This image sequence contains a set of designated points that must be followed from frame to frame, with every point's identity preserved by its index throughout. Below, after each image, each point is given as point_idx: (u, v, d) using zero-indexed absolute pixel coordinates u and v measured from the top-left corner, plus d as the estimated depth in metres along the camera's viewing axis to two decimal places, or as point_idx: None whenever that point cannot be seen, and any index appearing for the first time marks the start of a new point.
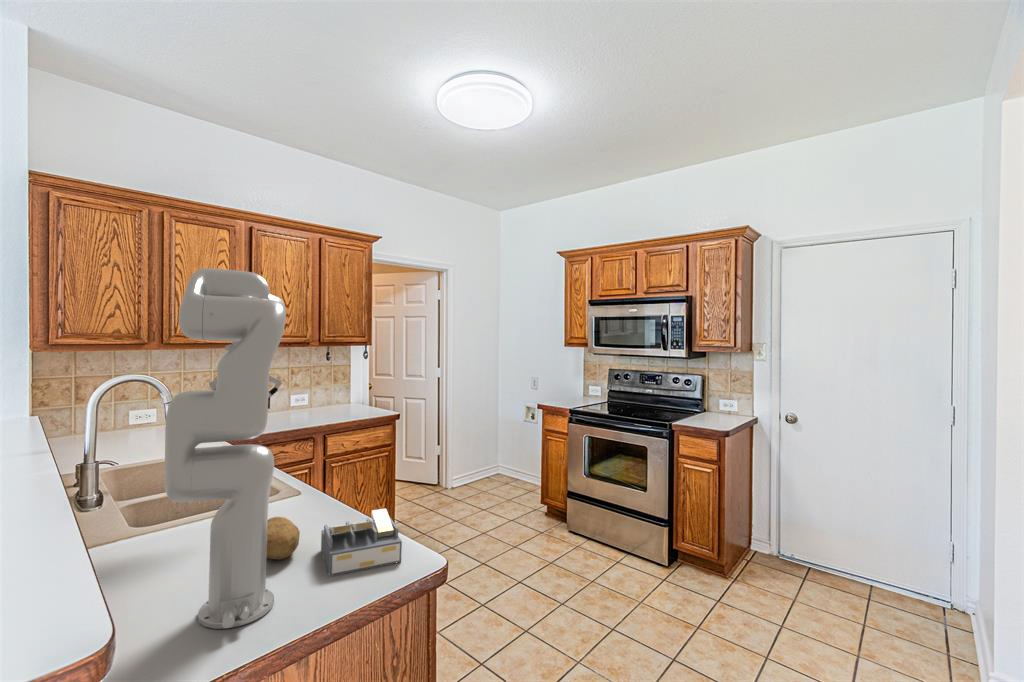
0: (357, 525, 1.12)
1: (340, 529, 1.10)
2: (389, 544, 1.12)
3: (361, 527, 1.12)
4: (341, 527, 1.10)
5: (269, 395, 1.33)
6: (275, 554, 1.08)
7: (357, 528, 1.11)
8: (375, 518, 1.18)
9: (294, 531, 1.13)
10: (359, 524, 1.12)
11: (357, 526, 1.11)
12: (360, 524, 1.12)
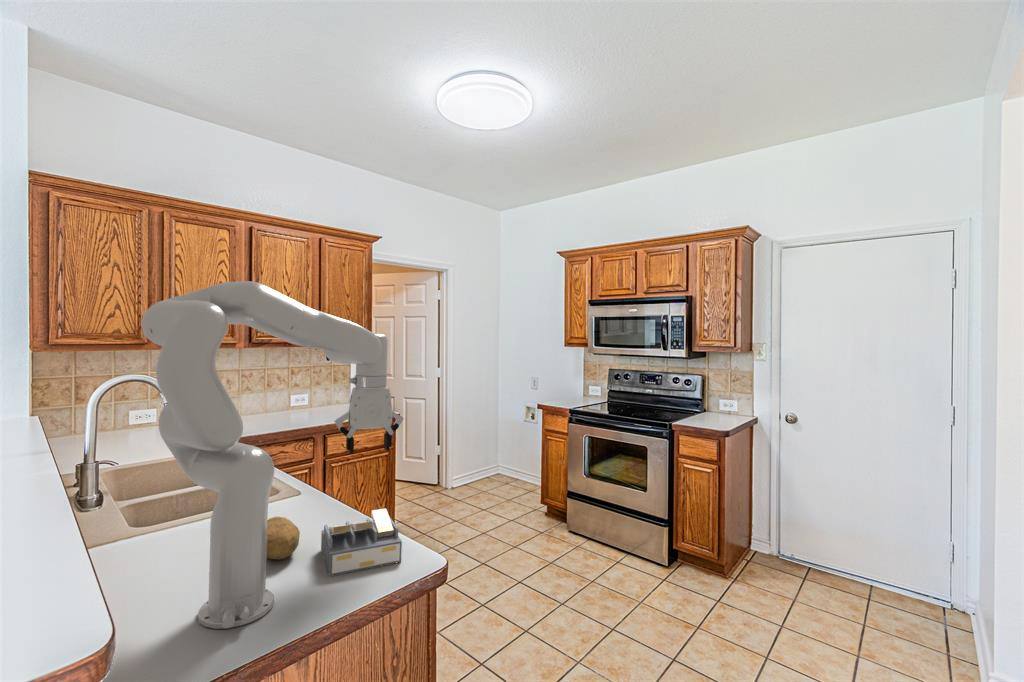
0: (357, 525, 1.12)
1: (340, 529, 1.10)
2: (389, 544, 1.12)
3: (361, 527, 1.12)
4: (341, 527, 1.10)
5: (391, 432, 1.22)
6: (275, 554, 1.08)
7: (357, 528, 1.11)
8: (375, 518, 1.18)
9: (294, 531, 1.13)
10: (359, 524, 1.12)
11: (357, 526, 1.11)
12: (360, 524, 1.12)
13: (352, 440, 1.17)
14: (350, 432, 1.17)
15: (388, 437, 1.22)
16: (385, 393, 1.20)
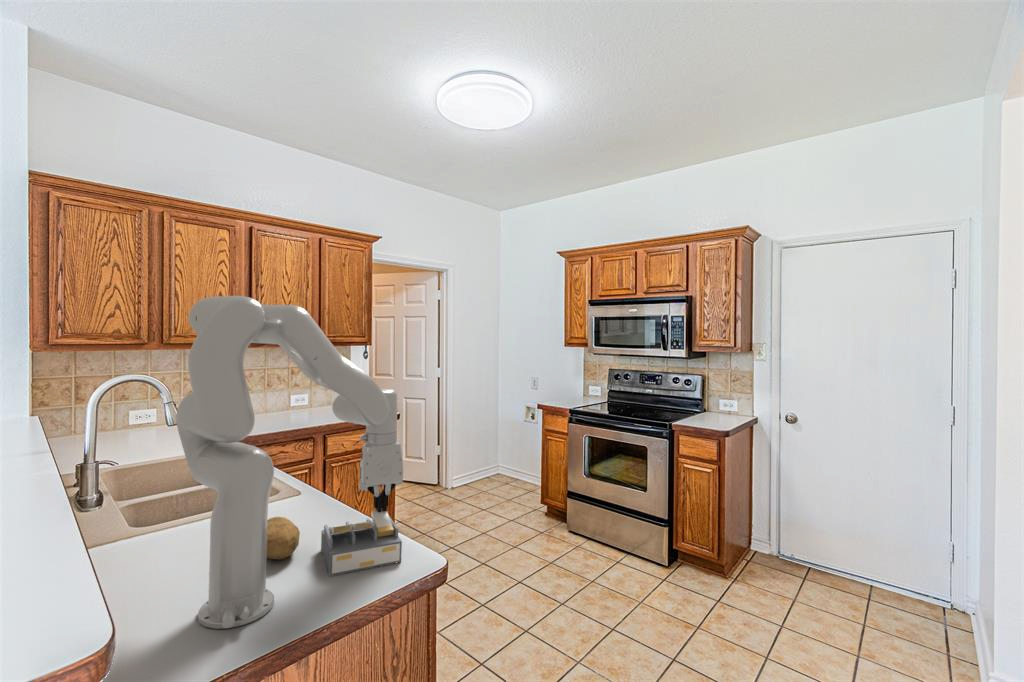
0: (357, 525, 1.12)
1: (340, 529, 1.10)
2: (389, 544, 1.12)
3: (361, 527, 1.12)
4: (341, 527, 1.10)
5: (387, 492, 1.21)
6: (275, 554, 1.08)
7: (357, 528, 1.11)
8: (375, 518, 1.18)
9: (294, 531, 1.13)
10: (359, 524, 1.12)
11: (357, 526, 1.11)
12: (360, 524, 1.12)
13: (380, 499, 1.20)
14: (377, 491, 1.20)
15: (385, 497, 1.20)
16: (396, 448, 1.20)
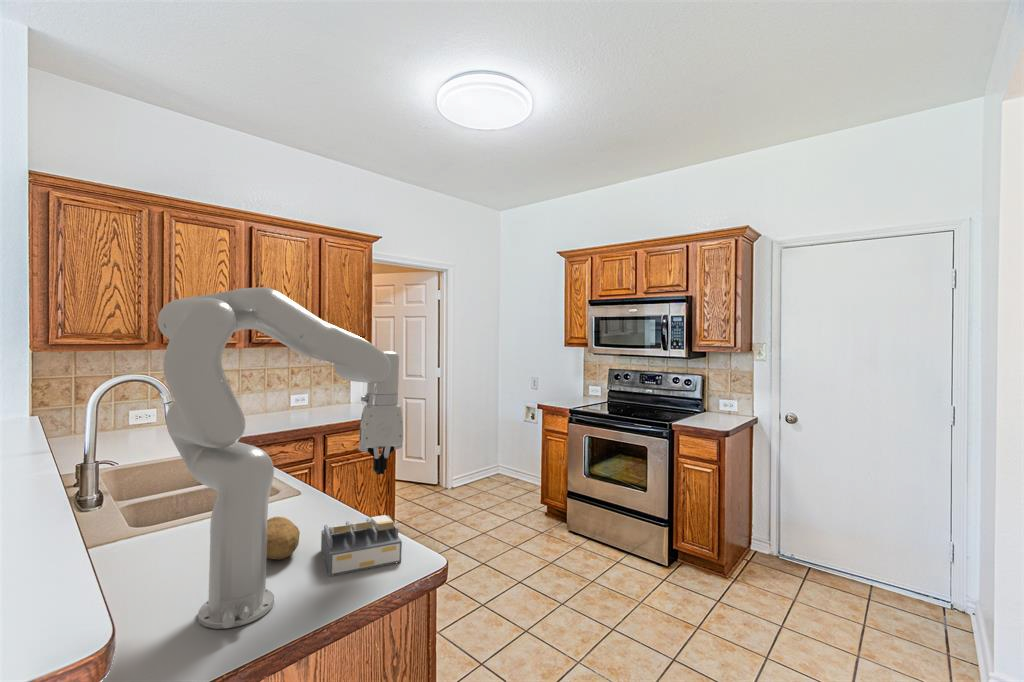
0: (357, 525, 1.12)
1: (340, 529, 1.10)
2: (389, 544, 1.12)
3: (361, 527, 1.12)
4: (341, 527, 1.10)
5: (386, 455, 1.20)
6: (275, 554, 1.08)
7: (357, 528, 1.11)
8: (375, 519, 1.18)
9: (294, 531, 1.13)
10: (359, 524, 1.12)
11: (357, 526, 1.11)
12: (360, 524, 1.12)
13: (379, 461, 1.19)
14: (377, 453, 1.19)
15: (383, 460, 1.19)
16: (396, 411, 1.19)
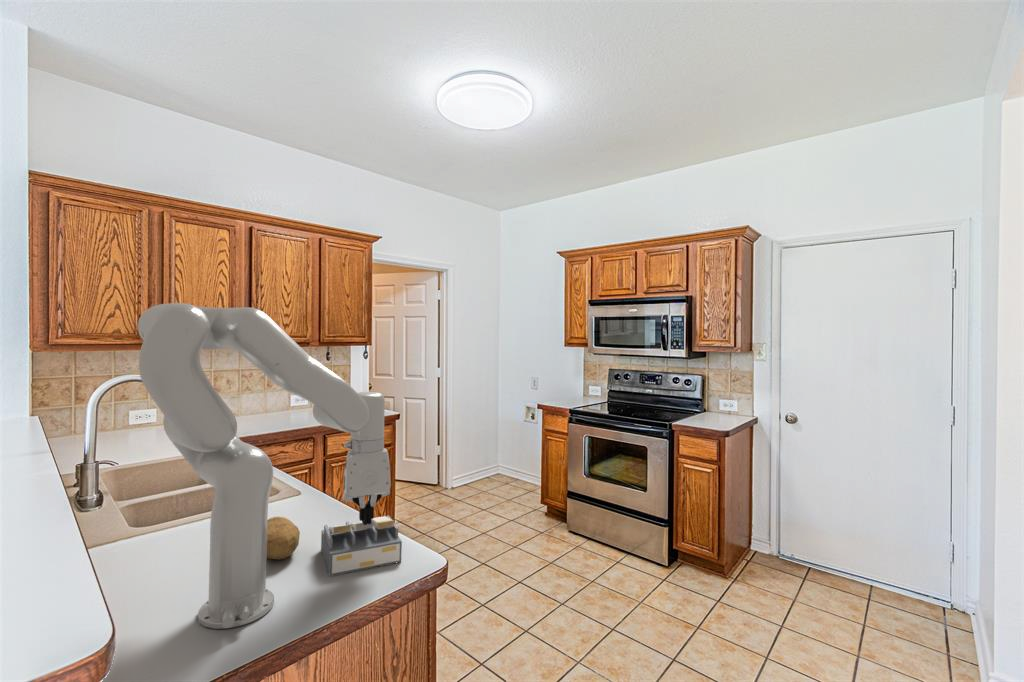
0: (357, 525, 1.12)
1: (340, 529, 1.10)
2: (389, 544, 1.12)
3: (361, 527, 1.12)
4: (341, 527, 1.10)
5: (373, 504, 1.12)
6: (275, 554, 1.08)
7: (357, 528, 1.11)
8: (375, 519, 1.18)
9: (294, 531, 1.13)
10: (359, 524, 1.12)
11: (357, 526, 1.11)
12: (360, 524, 1.12)
13: (365, 510, 1.11)
14: (363, 502, 1.11)
15: (369, 509, 1.12)
16: (383, 456, 1.12)
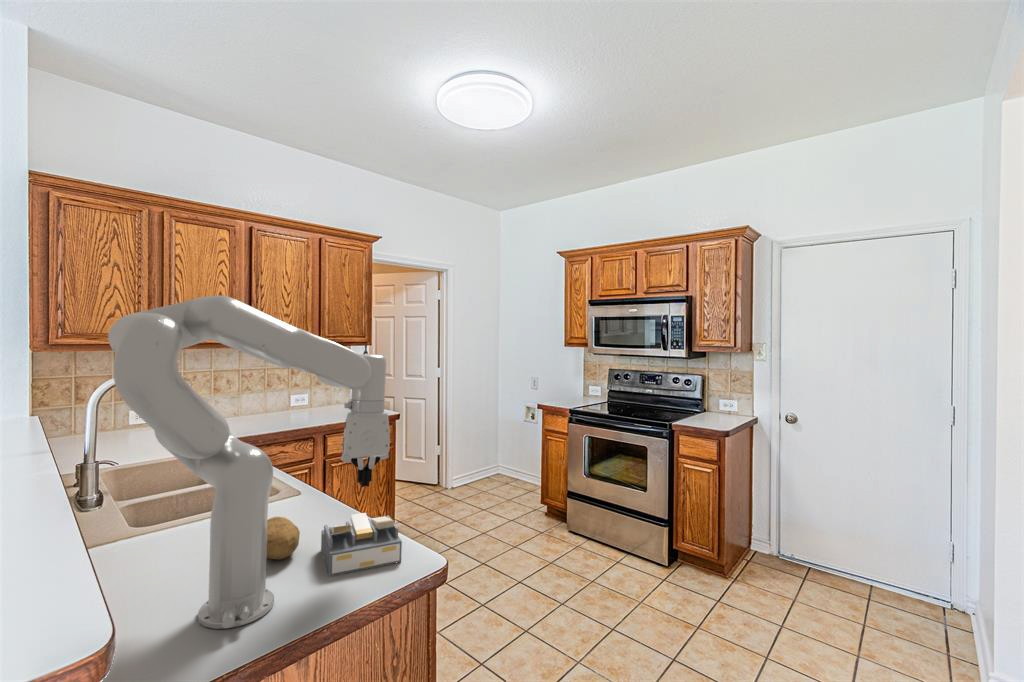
0: (357, 535, 1.11)
1: (340, 529, 1.10)
2: (389, 544, 1.12)
3: (361, 537, 1.12)
4: (341, 527, 1.10)
5: (371, 466, 1.12)
6: (275, 554, 1.08)
7: (357, 538, 1.11)
8: (375, 519, 1.18)
9: (294, 531, 1.13)
10: (359, 535, 1.11)
11: (357, 536, 1.11)
12: (360, 534, 1.12)
13: (364, 472, 1.11)
14: (362, 464, 1.11)
15: (368, 471, 1.11)
16: (382, 418, 1.12)
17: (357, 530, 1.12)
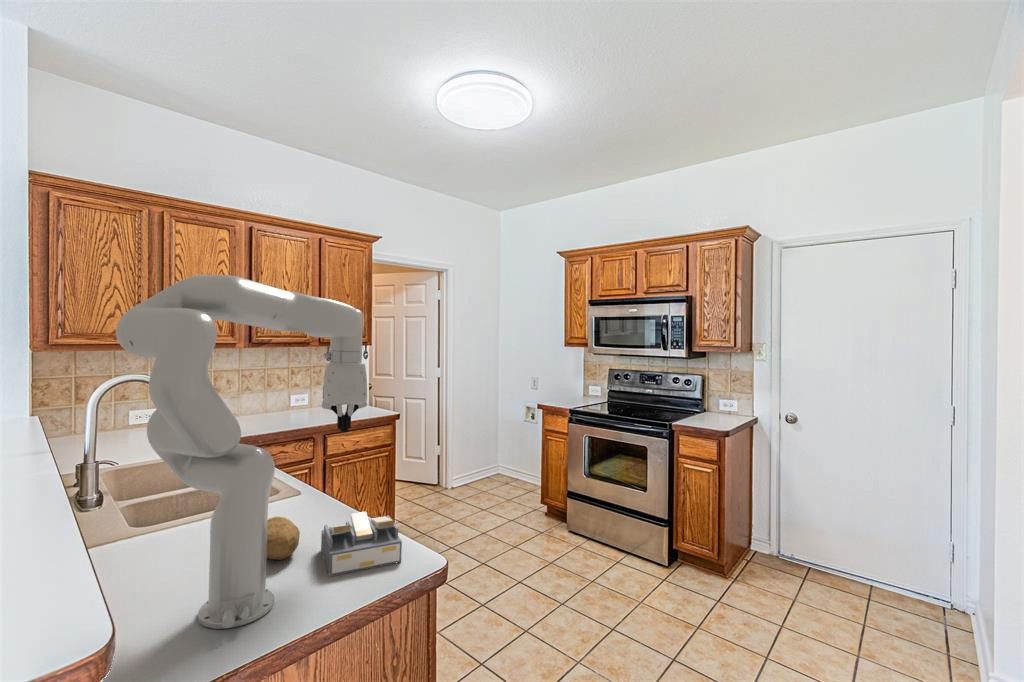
0: (357, 537, 1.11)
1: (340, 529, 1.10)
2: (389, 544, 1.12)
3: (360, 538, 1.12)
4: (341, 527, 1.10)
5: (350, 413, 1.19)
6: (275, 554, 1.08)
7: (356, 539, 1.12)
8: (375, 519, 1.18)
9: (294, 531, 1.13)
10: (359, 536, 1.11)
11: (357, 538, 1.11)
12: (360, 536, 1.12)
13: (343, 419, 1.18)
14: (341, 411, 1.18)
15: (347, 418, 1.19)
16: (360, 368, 1.19)
17: (357, 531, 1.12)
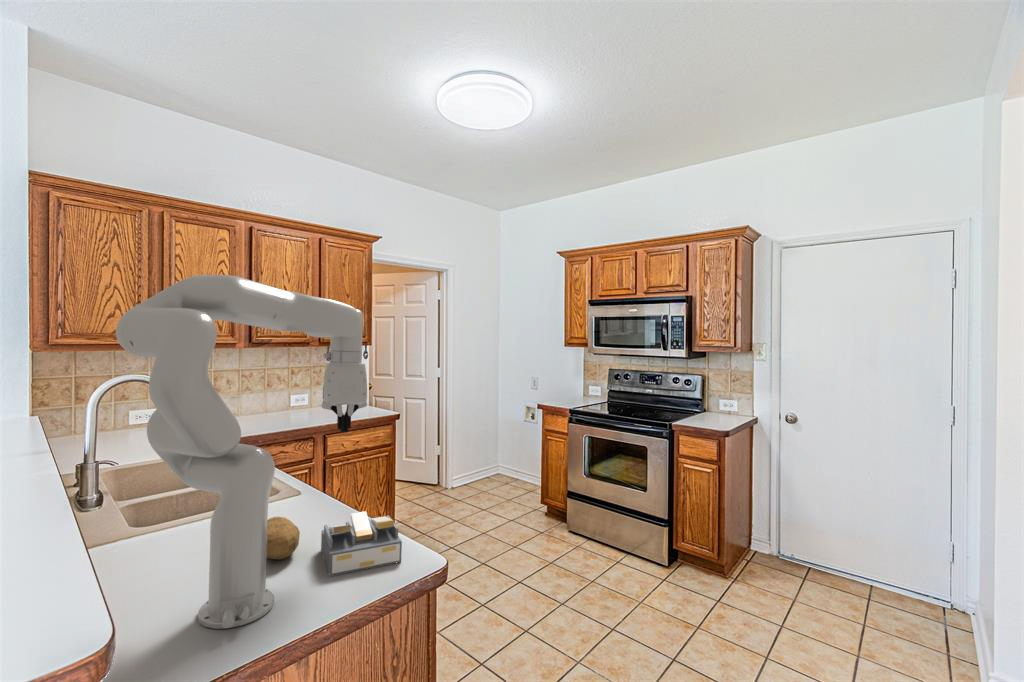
0: (357, 537, 1.11)
1: (340, 529, 1.10)
2: (389, 544, 1.12)
3: (360, 539, 1.12)
4: (341, 527, 1.10)
5: (350, 413, 1.19)
6: (275, 554, 1.08)
7: (356, 539, 1.12)
8: (375, 519, 1.18)
9: (294, 531, 1.13)
10: (359, 536, 1.11)
11: (357, 538, 1.11)
12: (360, 536, 1.12)
13: (343, 419, 1.18)
14: (341, 411, 1.18)
15: (347, 418, 1.19)
16: (360, 368, 1.19)
17: (357, 531, 1.12)
